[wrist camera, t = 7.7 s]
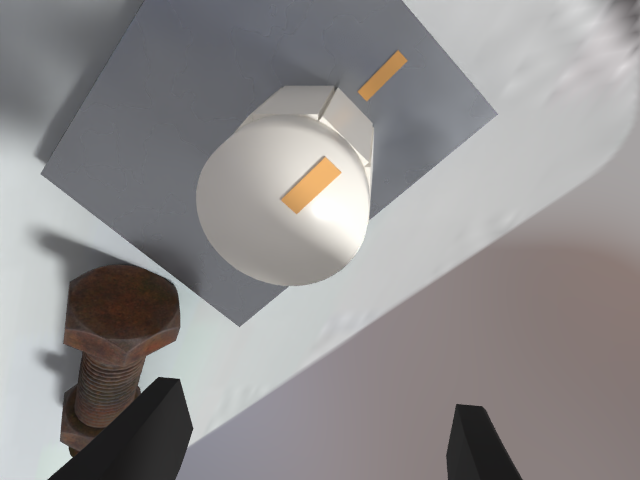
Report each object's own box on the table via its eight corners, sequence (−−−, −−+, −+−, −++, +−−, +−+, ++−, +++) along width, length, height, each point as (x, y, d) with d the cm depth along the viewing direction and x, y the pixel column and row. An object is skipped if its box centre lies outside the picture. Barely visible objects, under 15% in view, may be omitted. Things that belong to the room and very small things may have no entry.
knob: (314, 226, 19) (287, 312, 14) (228, 148, 18) (163, 211, 13) (399, 151, 17) (405, 220, 12) (308, 56, 16) (269, 86, 10)
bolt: (114, 397, 32) (149, 251, 24) (153, 449, 30) (204, 311, 22) (29, 445, 28) (37, 285, 20) (69, 509, 26) (96, 362, 18)
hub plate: (244, 314, 24) (224, 361, 21) (55, 166, 20) (-2, 195, 17) (492, 108, 17) (515, 132, 14) (259, -167, 13) (223, -214, 10)
